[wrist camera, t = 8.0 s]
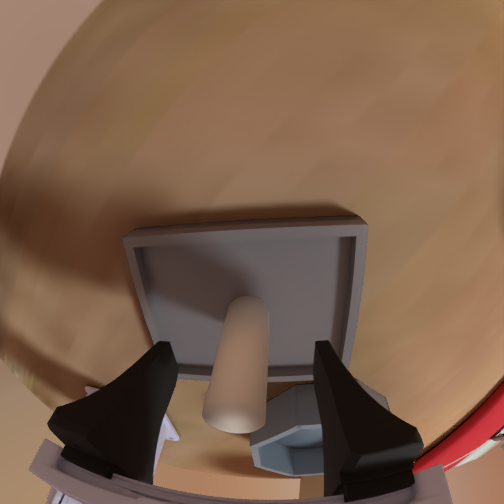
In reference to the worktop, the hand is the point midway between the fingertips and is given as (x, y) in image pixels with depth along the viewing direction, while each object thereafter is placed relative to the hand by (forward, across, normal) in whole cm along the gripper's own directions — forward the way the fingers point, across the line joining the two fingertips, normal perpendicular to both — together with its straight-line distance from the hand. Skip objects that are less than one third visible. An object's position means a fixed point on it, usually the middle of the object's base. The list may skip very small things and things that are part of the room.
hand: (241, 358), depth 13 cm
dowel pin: (+4, 0, 0) cm, 4 cm away
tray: (+5, 0, 0) cm, 5 cm away
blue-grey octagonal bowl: (+5, -6, +14) cm, 16 cm away
